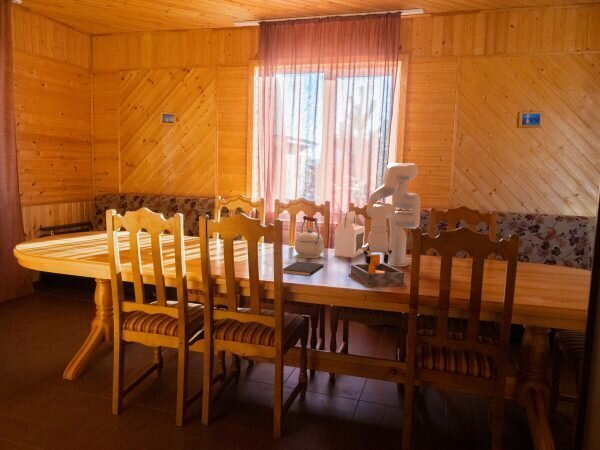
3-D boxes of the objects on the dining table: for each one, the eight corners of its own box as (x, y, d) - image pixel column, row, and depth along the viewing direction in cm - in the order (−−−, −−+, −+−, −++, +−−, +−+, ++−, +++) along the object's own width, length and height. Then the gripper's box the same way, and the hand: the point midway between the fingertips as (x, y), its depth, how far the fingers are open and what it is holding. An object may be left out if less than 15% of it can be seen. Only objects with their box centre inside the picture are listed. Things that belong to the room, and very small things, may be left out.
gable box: (345, 250, 317) (346, 209, 313) (364, 252, 311) (365, 210, 308) (333, 255, 297) (335, 212, 293) (353, 257, 291) (355, 213, 288)
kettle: (288, 253, 299) (289, 215, 296) (313, 252, 307) (314, 214, 304) (307, 261, 277) (308, 219, 274) (333, 259, 286) (334, 218, 282)
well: (383, 274, 249) (383, 262, 248) (405, 285, 226) (406, 273, 225) (348, 275, 243) (349, 264, 242) (368, 287, 220) (368, 274, 219)
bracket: (382, 281, 229) (383, 257, 227) (367, 279, 231) (368, 255, 229) (384, 276, 239) (385, 253, 237) (370, 274, 241) (371, 252, 239)
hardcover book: (281, 273, 247) (281, 269, 246) (297, 265, 268) (297, 261, 268) (310, 276, 241) (310, 272, 241) (323, 268, 263) (323, 264, 263)
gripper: (390, 228, 237) (389, 261, 239) (359, 228, 232) (358, 262, 234) (397, 230, 230) (396, 264, 232) (365, 230, 225) (364, 265, 227)
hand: (376, 263), depth 233 cm, fingers open, 9 cm apart
